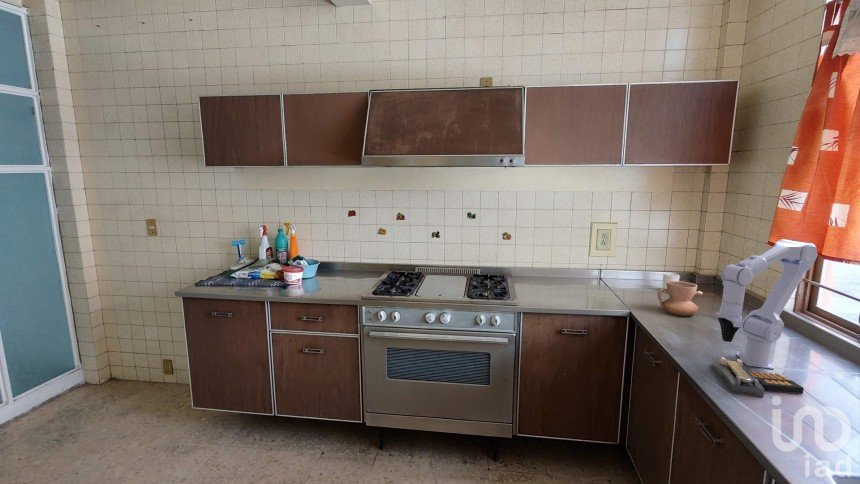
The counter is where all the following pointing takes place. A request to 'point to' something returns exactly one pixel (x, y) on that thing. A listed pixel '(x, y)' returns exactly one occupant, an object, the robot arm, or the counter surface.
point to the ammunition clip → (777, 382)
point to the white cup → (669, 278)
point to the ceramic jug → (679, 298)
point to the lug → (723, 362)
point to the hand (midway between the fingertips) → (726, 340)
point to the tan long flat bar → (739, 371)
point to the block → (738, 380)
